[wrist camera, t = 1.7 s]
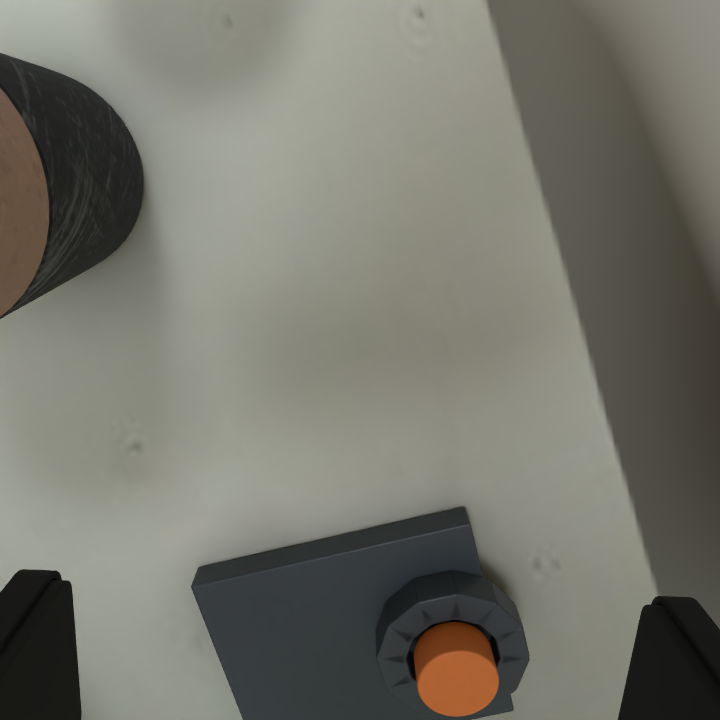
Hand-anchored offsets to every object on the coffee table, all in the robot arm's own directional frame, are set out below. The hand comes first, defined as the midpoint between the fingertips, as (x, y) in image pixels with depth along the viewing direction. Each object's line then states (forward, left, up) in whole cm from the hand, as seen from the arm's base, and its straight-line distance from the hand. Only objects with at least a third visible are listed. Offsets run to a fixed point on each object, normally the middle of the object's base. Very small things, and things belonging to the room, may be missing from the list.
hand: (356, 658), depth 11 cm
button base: (+3, +13, -16) cm, 21 cm away
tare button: (-1, +13, -14) cm, 19 cm away
